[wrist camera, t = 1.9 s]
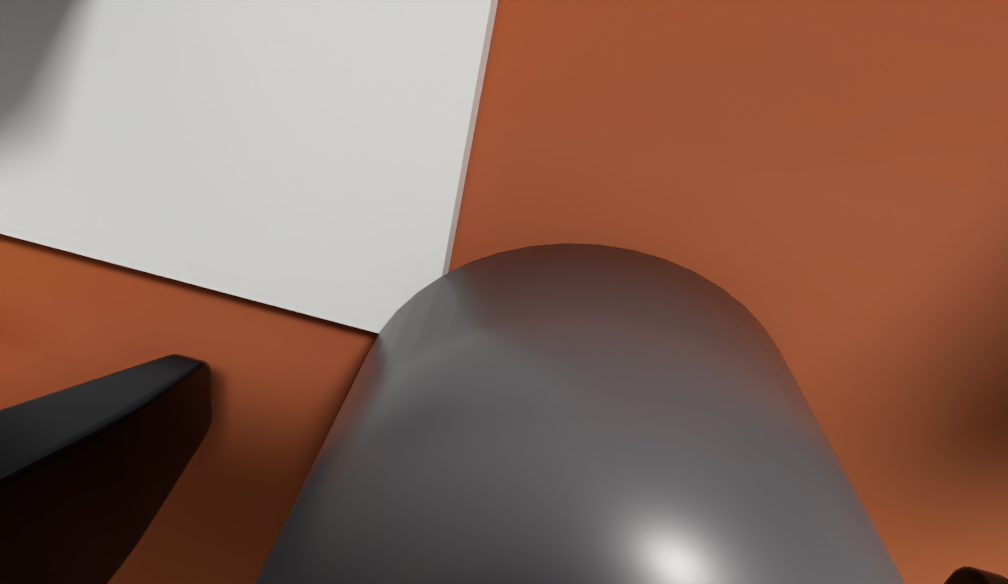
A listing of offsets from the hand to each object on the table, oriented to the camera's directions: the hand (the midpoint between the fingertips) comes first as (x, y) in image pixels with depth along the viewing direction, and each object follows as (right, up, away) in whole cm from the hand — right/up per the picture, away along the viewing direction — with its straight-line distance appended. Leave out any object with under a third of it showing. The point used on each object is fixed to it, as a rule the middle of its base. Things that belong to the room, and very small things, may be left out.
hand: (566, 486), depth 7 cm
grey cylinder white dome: (0, 0, +1) cm, 1 cm away
